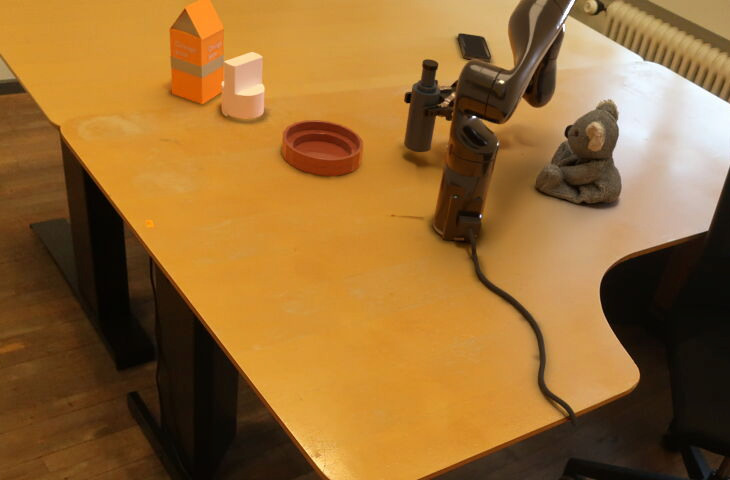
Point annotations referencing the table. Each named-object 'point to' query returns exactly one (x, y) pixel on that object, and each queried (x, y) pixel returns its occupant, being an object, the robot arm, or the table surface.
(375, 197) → the table surface
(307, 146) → the bowl
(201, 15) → the orange juice
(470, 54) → the black flat rounded slab
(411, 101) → the flask
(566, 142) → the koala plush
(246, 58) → the cylinder with rectangular tab
